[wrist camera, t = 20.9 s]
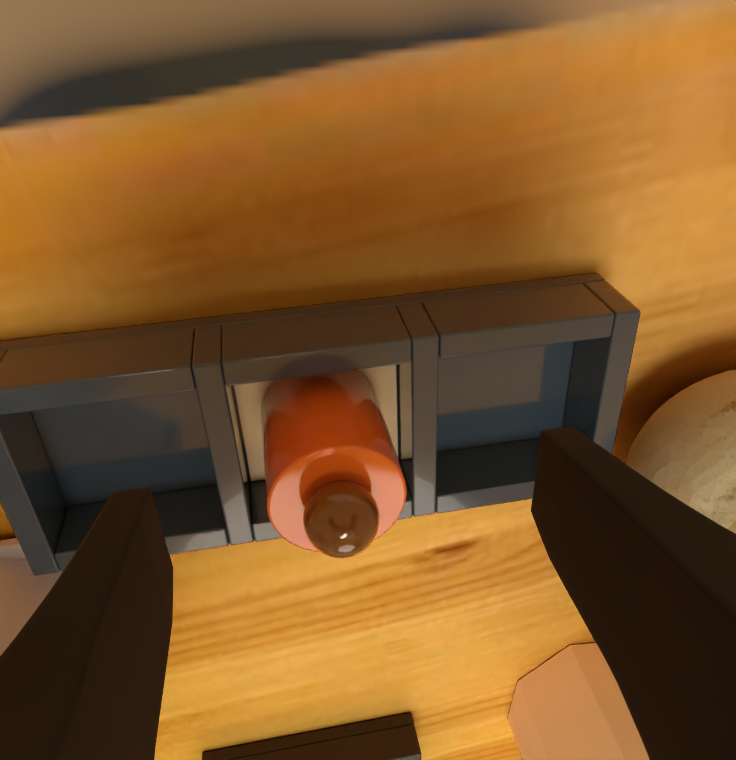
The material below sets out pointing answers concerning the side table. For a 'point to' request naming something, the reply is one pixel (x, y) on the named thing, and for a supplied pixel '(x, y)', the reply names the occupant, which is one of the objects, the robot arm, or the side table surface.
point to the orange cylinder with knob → (329, 463)
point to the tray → (336, 743)
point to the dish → (297, 359)
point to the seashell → (694, 448)
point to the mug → (573, 711)
